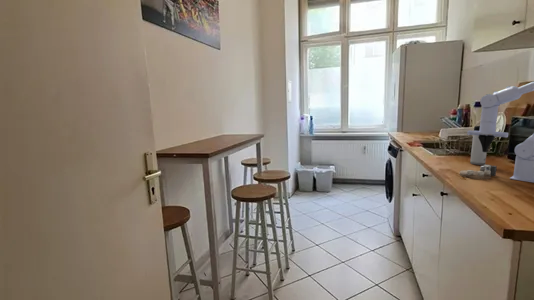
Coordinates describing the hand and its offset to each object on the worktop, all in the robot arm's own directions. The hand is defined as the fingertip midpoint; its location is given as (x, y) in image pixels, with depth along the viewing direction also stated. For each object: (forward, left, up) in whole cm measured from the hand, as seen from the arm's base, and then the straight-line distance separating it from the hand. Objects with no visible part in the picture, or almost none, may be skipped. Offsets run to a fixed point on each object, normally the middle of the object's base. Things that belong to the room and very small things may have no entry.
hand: (484, 151), depth 130 cm
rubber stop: (-5, +3, -9) cm, 11 cm away
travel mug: (+7, -18, -10) cm, 22 cm away
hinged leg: (-2, +5, -8) cm, 10 cm away
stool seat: (0, +11, -9) cm, 14 cm away
